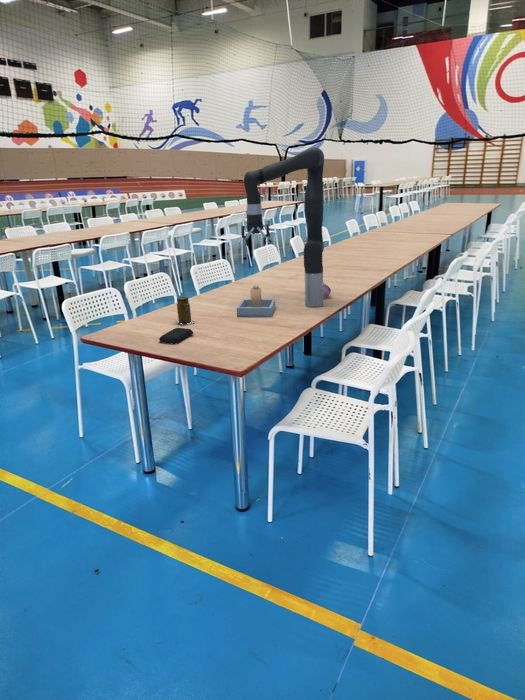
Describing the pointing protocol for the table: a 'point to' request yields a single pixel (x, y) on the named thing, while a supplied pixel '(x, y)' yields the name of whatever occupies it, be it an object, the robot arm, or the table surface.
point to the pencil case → (326, 291)
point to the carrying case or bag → (176, 335)
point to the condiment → (183, 311)
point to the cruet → (256, 296)
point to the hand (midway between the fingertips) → (256, 245)
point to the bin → (256, 308)
